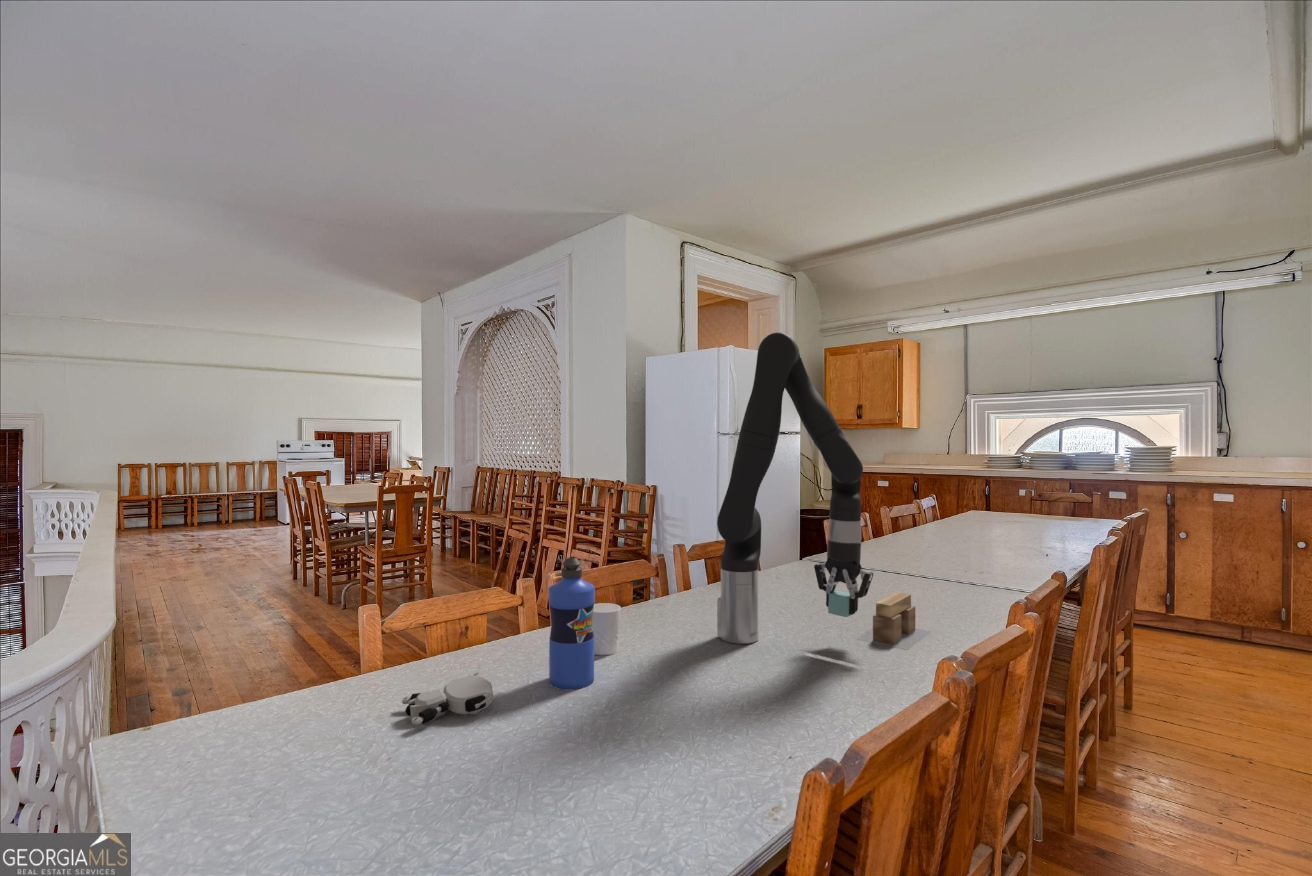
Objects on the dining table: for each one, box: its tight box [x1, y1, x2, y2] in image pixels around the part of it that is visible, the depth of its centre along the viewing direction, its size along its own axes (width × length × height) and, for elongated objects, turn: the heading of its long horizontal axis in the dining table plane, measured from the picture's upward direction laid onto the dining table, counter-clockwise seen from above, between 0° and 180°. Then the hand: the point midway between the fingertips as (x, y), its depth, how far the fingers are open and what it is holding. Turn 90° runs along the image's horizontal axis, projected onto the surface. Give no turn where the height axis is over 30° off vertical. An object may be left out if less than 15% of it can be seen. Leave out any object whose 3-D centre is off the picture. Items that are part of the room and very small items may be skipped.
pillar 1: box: [872, 613, 901, 645], centre depth 150 cm, size 5×5×6 cm
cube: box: [827, 590, 852, 618], centre depth 146 cm, size 4×4×4 cm
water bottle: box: [548, 556, 596, 690], centre depth 127 cm, size 9×9×25 cm
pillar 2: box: [899, 605, 916, 635], centre depth 157 cm, size 5×5×6 cm
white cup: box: [592, 602, 622, 656], centre depth 145 cm, size 8×8×10 cm
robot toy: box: [401, 672, 499, 726], centre depth 112 cm, size 12×4×15 cm
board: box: [856, 627, 932, 651], centre depth 154 cm, size 12×18×1 cm, turn 139°
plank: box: [875, 592, 912, 618], centre depth 154 cm, size 4×14×3 cm, turn 139°
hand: (841, 611), depth 146 cm, fingers closed on cube, 4 cm apart
